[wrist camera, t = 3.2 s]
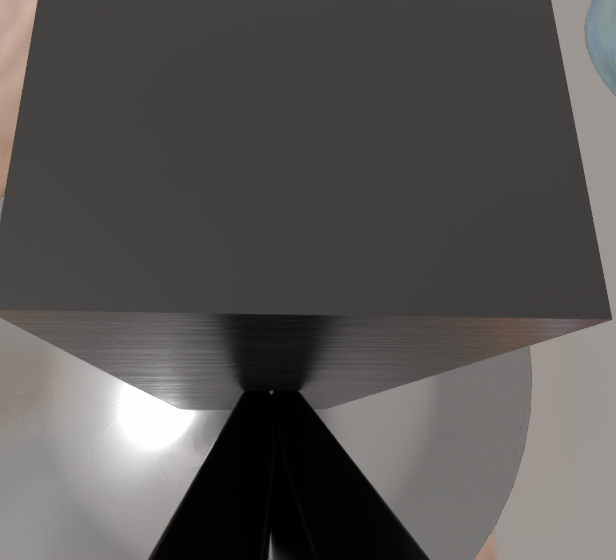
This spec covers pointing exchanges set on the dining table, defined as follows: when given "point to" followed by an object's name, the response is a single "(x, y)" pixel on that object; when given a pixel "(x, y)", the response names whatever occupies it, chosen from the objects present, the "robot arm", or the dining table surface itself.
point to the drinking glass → (602, 39)
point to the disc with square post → (282, 253)
